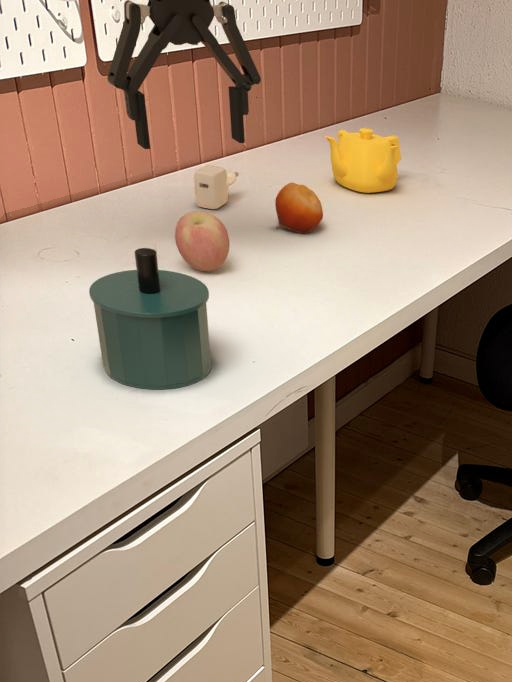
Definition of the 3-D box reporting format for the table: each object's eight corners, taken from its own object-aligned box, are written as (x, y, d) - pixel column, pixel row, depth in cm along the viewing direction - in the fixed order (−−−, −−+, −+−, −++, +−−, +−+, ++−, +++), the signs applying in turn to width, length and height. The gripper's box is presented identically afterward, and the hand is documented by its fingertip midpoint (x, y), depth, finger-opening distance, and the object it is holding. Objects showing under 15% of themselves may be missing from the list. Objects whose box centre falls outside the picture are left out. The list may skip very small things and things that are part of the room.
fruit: (274, 207, 164) (297, 168, 159) (312, 238, 166) (335, 201, 161) (257, 220, 158) (280, 181, 153) (296, 253, 160) (320, 215, 155)
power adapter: (218, 190, 172) (216, 155, 168) (244, 194, 172) (242, 159, 168) (192, 207, 164) (189, 170, 160) (218, 212, 163) (216, 175, 160)
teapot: (323, 191, 179) (323, 133, 172) (335, 171, 189) (336, 116, 182) (396, 201, 179) (398, 143, 172) (404, 181, 189) (407, 126, 183)
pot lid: (74, 285, 114) (66, 237, 110) (183, 272, 120) (178, 226, 117) (114, 329, 106) (107, 279, 102) (228, 313, 112) (225, 265, 109)
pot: (89, 353, 119) (78, 281, 113) (187, 338, 125) (180, 269, 119) (126, 397, 112) (115, 322, 106) (227, 378, 118) (223, 307, 112)
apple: (166, 266, 143) (161, 210, 138) (208, 256, 148) (204, 202, 143) (200, 283, 139) (196, 226, 134) (242, 272, 144) (239, 217, 139)
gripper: (83, -43, 110) (111, 156, 124) (281, -36, 122) (286, 145, 136) (63, -53, 114) (92, 141, 128) (256, -45, 127) (263, 131, 140)
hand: (192, 143), depth 132 cm, fingers open, 13 cm apart
